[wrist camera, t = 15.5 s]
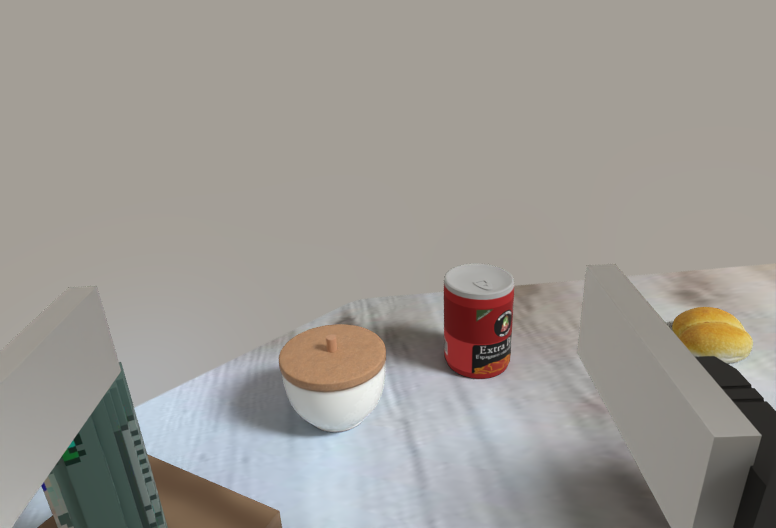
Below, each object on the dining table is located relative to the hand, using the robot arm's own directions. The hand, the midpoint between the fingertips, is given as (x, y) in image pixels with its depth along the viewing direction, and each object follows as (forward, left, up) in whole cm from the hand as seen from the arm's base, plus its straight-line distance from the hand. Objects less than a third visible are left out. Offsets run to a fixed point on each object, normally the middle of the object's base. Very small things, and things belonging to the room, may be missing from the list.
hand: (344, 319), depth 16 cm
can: (-5, -24, -28) cm, 38 cm away
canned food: (-44, -11, -32) cm, 56 cm away
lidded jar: (-29, -21, -32) cm, 49 cm away
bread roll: (-59, +13, -32) cm, 68 cm away
